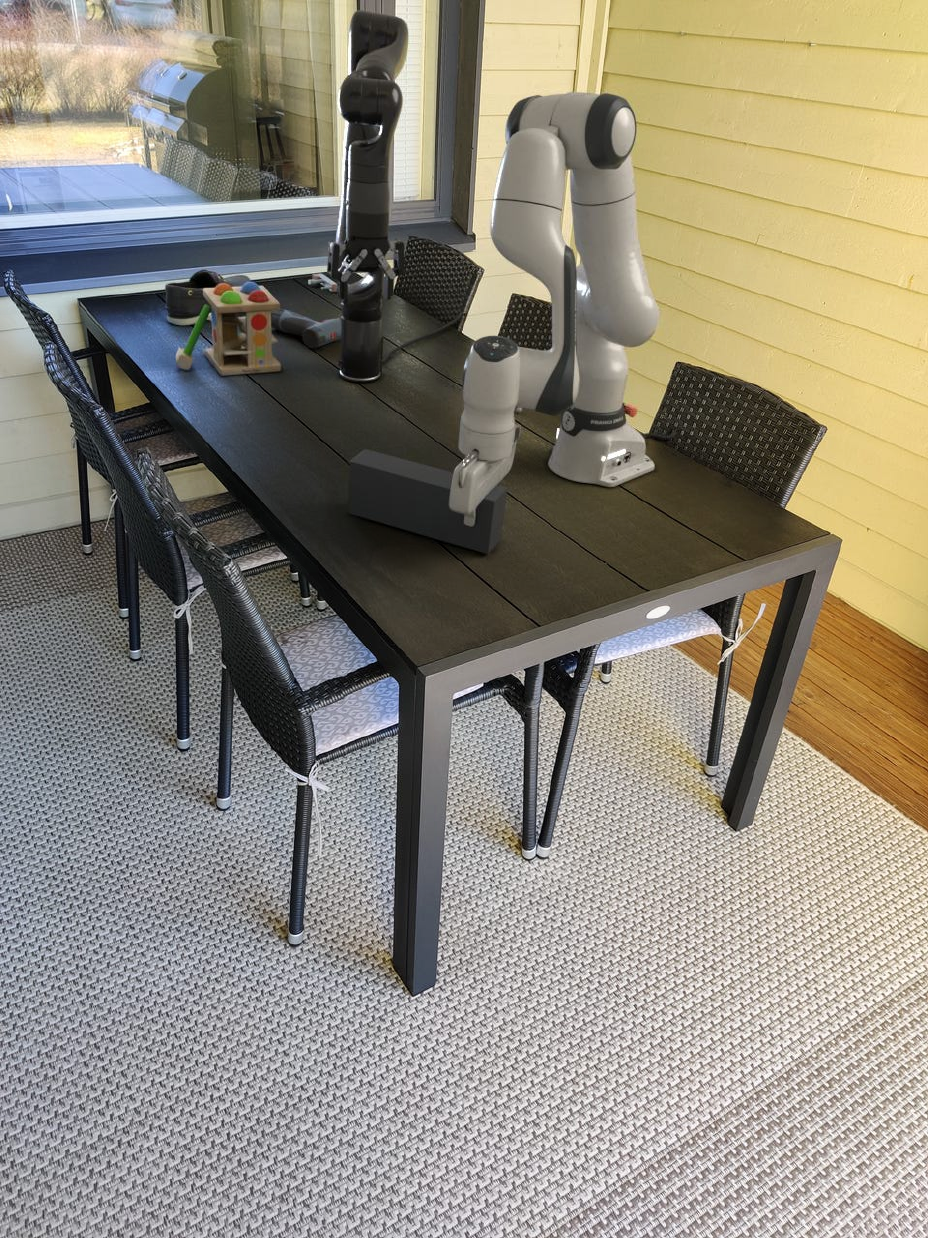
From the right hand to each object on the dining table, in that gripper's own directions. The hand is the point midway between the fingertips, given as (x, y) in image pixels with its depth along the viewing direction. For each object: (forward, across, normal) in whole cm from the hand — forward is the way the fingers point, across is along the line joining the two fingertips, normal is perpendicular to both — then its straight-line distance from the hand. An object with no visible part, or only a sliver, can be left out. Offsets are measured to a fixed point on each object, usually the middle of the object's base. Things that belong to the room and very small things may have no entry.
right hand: (478, 514), depth 167 cm
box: (+5, 0, +10) cm, 11 cm away
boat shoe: (+6, +80, +109) cm, 135 cm away
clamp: (+6, +116, +94) cm, 150 cm away
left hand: (-24, +23, +34) cm, 48 cm away
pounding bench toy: (+6, +47, +83) cm, 96 cm away
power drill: (+6, +78, +78) cm, 111 cm away
